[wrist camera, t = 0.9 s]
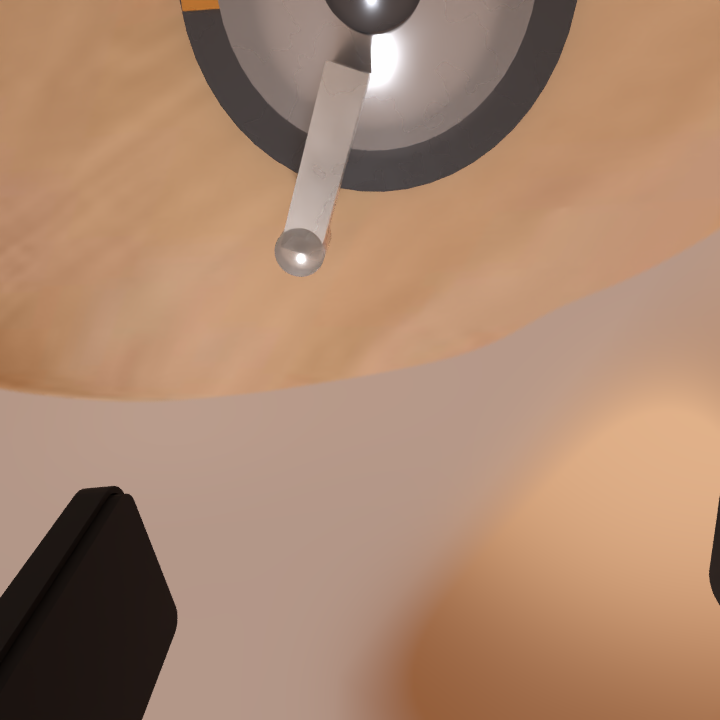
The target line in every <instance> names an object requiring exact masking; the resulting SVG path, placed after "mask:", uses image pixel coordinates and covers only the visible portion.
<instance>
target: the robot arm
mask: <svg viewBox="0 0 720 720" xmlns="http://www.w3.org/2000/svg"><path fill="white" fill-rule="evenodd" d="M709 577H710V584H711V588H712V591H713V594H714V596H715V598H716V599H717V601H718V603H719V605H720V498H719V506H718V513H717V520H716V527H715V534H714V541H713V549H712V555H711V563H710V570H709ZM176 627H177V609H176V606H175V604H174V601H173V598H172V596H171V593H170V591H169V588H168V586H167V583H166V580H165V578H164V576H163V573H162V571H161V568H160V565H159V563H158V560H157V557H156V555H155V552H154V550H153V547H152V545H151V542H150V540H149V537H148V534H147V532H146V529H145V527H144V524H143V522H142V519H141V517H140V514H139V511H138V509H137V506H136V504H135V502H134V499H133V497H132V496H131V495H129V494H124V493H123V491H122V490H121V489H120V488H119V487H116V486H108V487H97V488H87V489H82V490H79V491H78V492H77V493H76V494H75V496H74V497H73V498H72V500H71V501H70V503H69V504H68V505H67V507H66V508H65V509H64V511H63V512H62V514H61V515H60V516H59V518H58V519H57V520H56V522H55V523H54V525H53V526H52V528H51V529H50V530H49V531H48V533H47V534H46V536H45V537H44V538H43V540H42V541H41V543H40V544H39V545H38V547H37V548H36V549H35V551H34V552H33V553H32V555H31V556H30V558H29V559H28V560H27V562H26V563H25V564H24V566H23V567H22V569H21V570H20V571H19V573H18V574H17V576H16V577H15V578H14V580H13V581H12V582H11V584H10V585H9V586H8V588H7V589H6V591H5V592H4V593H3V595H2V596H1V597H0V720H142V718H143V715H144V713H145V710H146V707H147V705H148V702H149V700H150V697H151V694H152V692H153V689H154V686H155V684H156V681H157V679H158V676H159V673H160V671H161V668H162V665H163V663H164V660H165V658H166V655H167V652H168V650H169V647H170V644H171V642H172V639H173V637H174V634H175V631H176Z"/></svg>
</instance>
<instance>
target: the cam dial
mask: <svg viewBox="0 0 720 720" xmlns="http://www.w3.org/2000/svg"><path fill="white" fill-rule="evenodd" d="M218 3H219V8H220V12H221V16H222V20H223V25H224V27H225V30H226V33H227V36H228V39H229V42H230V44H231V47H232V49H233V51H234V53H235V55H236V57H237V59H238V61H239V63H240V66H241V67H242V69H243V70H244V72H245V74H246V75H247V77H248V78H249V80H250V81H251V83H252V85H253V86H254V87H255V88H256V90H257V91H258V92H259V93H260V94H261V96H262V97H263V98H264V99H265V101H266V102H267V103H268V104H269V105H270V106H272V107H273V108H274V109H275V110H276V111H277V112H278V113H279V114H280V115H281V116H282V117H284V118H285V119H286V120H288V121H289V122H290V123H292V124H293V125H294V126H296V127H297V128H299V129H301V130H302V131H304V132H306V133H308V135H307V139H306V144H305V148H304V152H303V156H302V160H301V164H300V168H299V172H298V176H297V180H296V184H295V189H294V193H293V197H292V201H291V205H290V209H289V213H288V217H287V221H286V225H285V229H284V231H283V232H282V234H281V235H280V237H279V238H278V240H277V242H276V245H275V257H276V260H277V262H278V264H279V265H280V267H281V268H282V269H283V270H284V271H286V272H287V273H289V274H291V275H293V276H299V277H303V276H308V275H311V274H313V273H314V272H316V271H317V270H318V269H319V268H320V266H321V265H322V263H323V260H324V257H325V254H326V251H327V249H328V246H329V243H330V240H331V230H330V223H331V219H332V216H333V212H334V209H335V205H336V201H337V198H338V194H339V191H340V187H341V183H342V180H343V176H344V172H345V169H346V165H347V162H348V158H349V154H350V151H351V149H359V150H368V151H372V150H391V149H397V148H403V147H408V146H411V145H414V144H417V143H420V142H424V141H426V140H429V139H431V138H433V137H435V136H437V135H439V134H441V133H443V132H445V131H447V130H448V129H450V128H451V127H453V126H454V125H456V124H458V123H459V122H461V121H462V120H463V119H464V118H465V117H467V116H468V115H469V114H470V113H472V112H473V111H474V110H475V109H476V108H477V107H478V106H479V105H480V104H481V103H482V102H483V101H484V100H485V99H486V98H487V97H488V96H489V95H490V94H491V92H492V91H493V90H494V88H495V87H496V86H497V84H498V83H499V82H500V80H501V79H502V78H503V76H504V75H505V73H506V72H507V70H508V68H509V66H510V65H511V63H512V61H513V59H514V58H515V56H516V54H517V52H518V49H519V47H520V45H521V42H522V40H523V38H524V35H525V33H526V30H527V27H528V23H529V20H530V17H531V14H532V10H533V5H534V0H218Z"/></svg>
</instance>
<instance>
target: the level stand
mask: <svg viewBox="0 0 720 720" xmlns="http://www.w3.org/2000/svg"><path fill="white" fill-rule="evenodd" d="M576 3H577V0H534V5H533V10H532V14H531V17H530V20H529V23H528V27H527V30H526V33H525V35H524V38H523V40H522V42H521V45H520V47H519V49H518V52H517V54H516V56H515V58H514V59H513V61H512V63H511V65H510V66H509V68H508V70H507V72H506V73H505V75H504V76H503V78H502V79H501V80H500V82H499V83H498V84H497V86H496V87H495V88H494V90H493V91H492V92H491V94H490V95H489V96H488V97H487V98H486V99H485V100H484V101H483V102H482V103H481V104H480V105H479V106H478V107H477V108H476V109H475V110H474V111H473V112H472V113H470V114H469V115H468V116H467V117H465V118H464V119H463V120H462V121H461V122H459V123H458V124H456V125H454V126H453V127H451V128H450V129H448V130H447V131H445V132H443V133H441V134H439V135H437V136H435V137H433V138H431V139H429V140H426V141H424V142H420V143H417V144H414V145H411V146H408V147H403V148H397V149H391V150H372V151H368V150H359V149H351V151H350V154H349V158H348V162H347V165H346V169H345V172H344V176H343V180H342V183H341V187H340V188H343V189H350V190H357V191H381V192H385V191H393V190H402V189H409V188H413V187H416V186H420V185H424V184H428V183H431V182H434V181H436V180H439V179H441V178H444V177H446V176H449V175H451V174H453V173H455V172H457V171H459V170H461V169H462V168H464V167H466V166H468V165H469V164H471V163H473V162H475V161H476V160H477V159H479V158H480V157H481V156H483V155H484V154H485V153H487V152H488V151H490V150H491V149H492V148H494V147H495V146H496V145H497V144H498V143H499V142H500V141H501V140H502V139H503V138H504V137H505V136H506V135H508V134H509V133H510V132H511V131H512V130H513V129H514V128H515V126H516V125H517V124H518V123H519V122H520V120H521V119H522V118H523V117H524V116H525V114H526V113H527V112H528V111H529V110H530V108H531V107H532V105H533V104H534V102H535V101H536V99H537V98H538V96H539V95H540V93H541V92H542V90H543V89H544V87H545V86H546V84H547V82H548V80H549V78H550V76H551V74H552V72H553V70H554V68H555V66H556V64H557V62H558V60H559V58H560V55H561V52H562V50H563V47H564V44H565V42H566V39H567V36H568V34H569V30H570V26H571V23H572V19H573V15H574V11H575V7H576ZM180 4H181V8H182V13H183V17H184V22H185V26H186V31H187V34H188V37H189V40H190V43H191V46H192V49H193V52H194V55H195V58H196V60H197V62H198V64H199V66H200V68H201V71H202V73H203V75H204V77H205V79H206V81H207V83H208V85H209V87H210V88H211V90H212V92H213V93H214V95H215V97H216V98H217V100H218V101H219V103H220V105H221V106H222V108H223V109H224V110H225V111H226V113H227V114H228V115H229V117H230V118H231V119H232V120H233V122H234V123H235V124H236V125H237V127H238V128H239V129H240V130H241V131H242V132H243V133H244V134H245V135H246V136H247V137H248V138H249V139H250V140H251V141H252V142H253V143H254V144H255V145H256V146H258V147H259V148H260V149H262V150H263V151H264V152H265V153H267V154H268V155H269V156H270V157H272V158H273V159H274V160H276V161H278V162H279V163H281V164H283V165H284V166H286V167H288V168H289V169H291V170H293V171H294V172H296V173H298V172H299V168H300V164H301V160H302V156H303V152H304V148H305V144H306V139H307V135H308V133H306V132H304V131H302V130H301V129H299V128H297V127H296V126H294V125H293V124H292V123H290V122H289V121H288V120H286V119H285V118H284V117H282V116H281V115H280V114H279V113H278V112H277V111H276V110H275V109H274V108H273V107H272V106H270V105H269V104H268V103H267V102H266V101H265V99H264V98H263V97H262V96H261V94H260V93H259V92H258V91H257V90H256V88H255V87H254V86H253V85H252V83H251V81H250V80H249V78H248V77H247V75H246V74H245V72H244V70H243V69H242V67H241V66H240V63H239V61H238V59H237V57H236V55H235V53H234V51H233V49H232V47H231V44H230V42H229V39H228V36H227V33H226V30H225V27H224V25H223V20H222V16H221V12H220V8H219V3H218V0H180Z"/></svg>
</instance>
